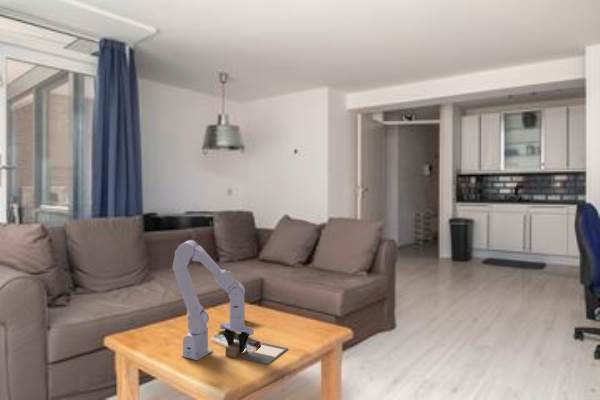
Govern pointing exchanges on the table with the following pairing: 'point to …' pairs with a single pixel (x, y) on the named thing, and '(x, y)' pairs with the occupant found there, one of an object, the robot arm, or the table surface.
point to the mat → (265, 354)
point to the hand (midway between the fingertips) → (236, 349)
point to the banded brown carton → (234, 350)
